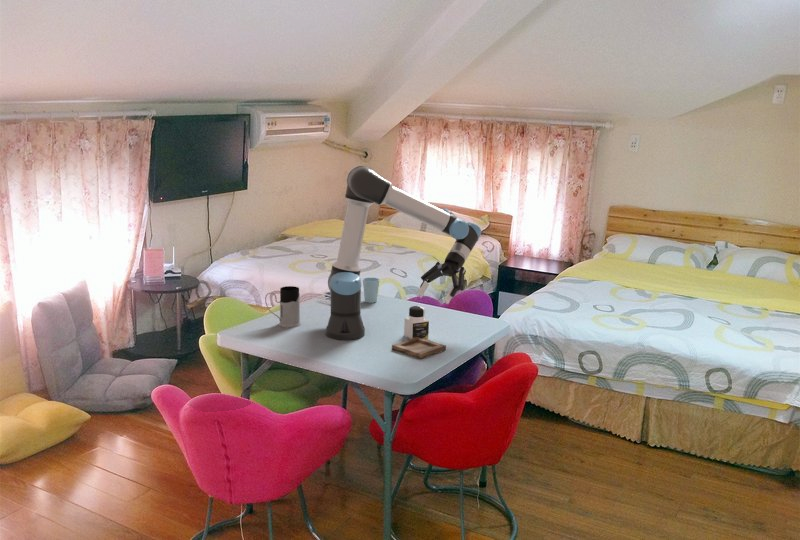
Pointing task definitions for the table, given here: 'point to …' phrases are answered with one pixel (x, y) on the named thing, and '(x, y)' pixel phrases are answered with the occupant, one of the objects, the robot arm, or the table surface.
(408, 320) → the medicine bottle
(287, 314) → the black and white mug
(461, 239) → the robot arm
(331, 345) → the table surface
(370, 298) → the cup
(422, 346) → the coaster tray
